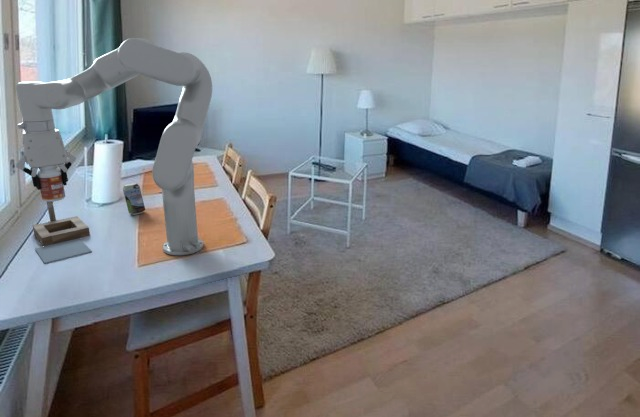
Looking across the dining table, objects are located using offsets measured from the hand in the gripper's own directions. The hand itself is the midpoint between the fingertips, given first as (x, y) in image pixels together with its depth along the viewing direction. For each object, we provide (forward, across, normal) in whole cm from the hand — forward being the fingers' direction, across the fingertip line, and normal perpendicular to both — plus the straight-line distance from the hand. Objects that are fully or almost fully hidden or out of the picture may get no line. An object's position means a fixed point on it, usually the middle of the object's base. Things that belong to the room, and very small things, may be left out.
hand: (51, 185), depth 135 cm
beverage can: (+22, +30, +20) cm, 42 cm away
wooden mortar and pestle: (+21, +3, +17) cm, 27 cm away
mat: (+21, 0, 0) cm, 21 cm away
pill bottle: (+4, 0, 0) cm, 4 cm away
